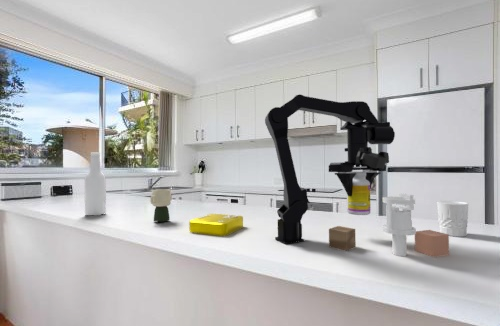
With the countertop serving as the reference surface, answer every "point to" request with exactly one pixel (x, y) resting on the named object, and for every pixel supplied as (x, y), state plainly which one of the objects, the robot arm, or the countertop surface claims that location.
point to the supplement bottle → (359, 195)
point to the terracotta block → (432, 243)
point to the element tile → (216, 224)
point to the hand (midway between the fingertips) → (358, 195)
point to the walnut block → (342, 238)
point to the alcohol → (95, 187)
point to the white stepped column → (399, 221)
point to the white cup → (453, 217)
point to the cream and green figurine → (161, 204)
